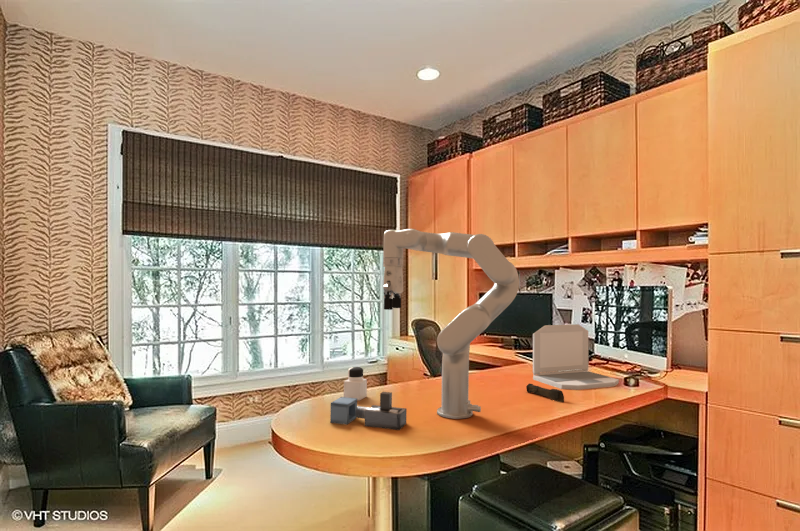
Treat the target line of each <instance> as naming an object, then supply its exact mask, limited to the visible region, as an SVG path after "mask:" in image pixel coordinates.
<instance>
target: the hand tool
mask: <svg viewBox="0 0 800 531" xmlns="http://www.w3.org/2000/svg"><path fill="white" fill-rule="evenodd" d="M525 390H526V392H527V393H529V394H531V393H532V394H535V395H539V396H542V397H546V398H549V399H550V400H551V401H553V400H554V402H556V403H557V402H558V403H564V402H565V395H564V393H563V391H562V389H561V390H560V389H558V388H551V389H550V388H545V387H541V386H539V385H535V384H533V383H528V384H526V389H525Z"/></svg>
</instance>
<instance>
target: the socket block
mask: <svg viewBox="0 0 800 531" xmlns="http://www.w3.org/2000/svg"><path fill="white" fill-rule="evenodd" d="M357 406H358V400H357V398H347V397H344V396H340V397H339V398H337V399H335V400H333V401H331V402H330V417H329V418H330V420H329V422H330V424H338V425H339V424H340V425H348V424H350V423H351V422H353V421H354V420H355V419H357V418H356V415H355V412H356V408H357Z"/></svg>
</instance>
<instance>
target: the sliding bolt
mask: <svg viewBox="0 0 800 531" xmlns="http://www.w3.org/2000/svg"><path fill="white" fill-rule="evenodd" d="M379 394H380V395H379V396H380V398H379V406H380V408H372V407H370V406H361V405H357V408H356V412H355V415H356V419H364V420H365V410H375V411H384V412H393V413H399V411H398V410H391V409H392V407H393V392H391V391H382V392H380V393H379Z"/></svg>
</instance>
